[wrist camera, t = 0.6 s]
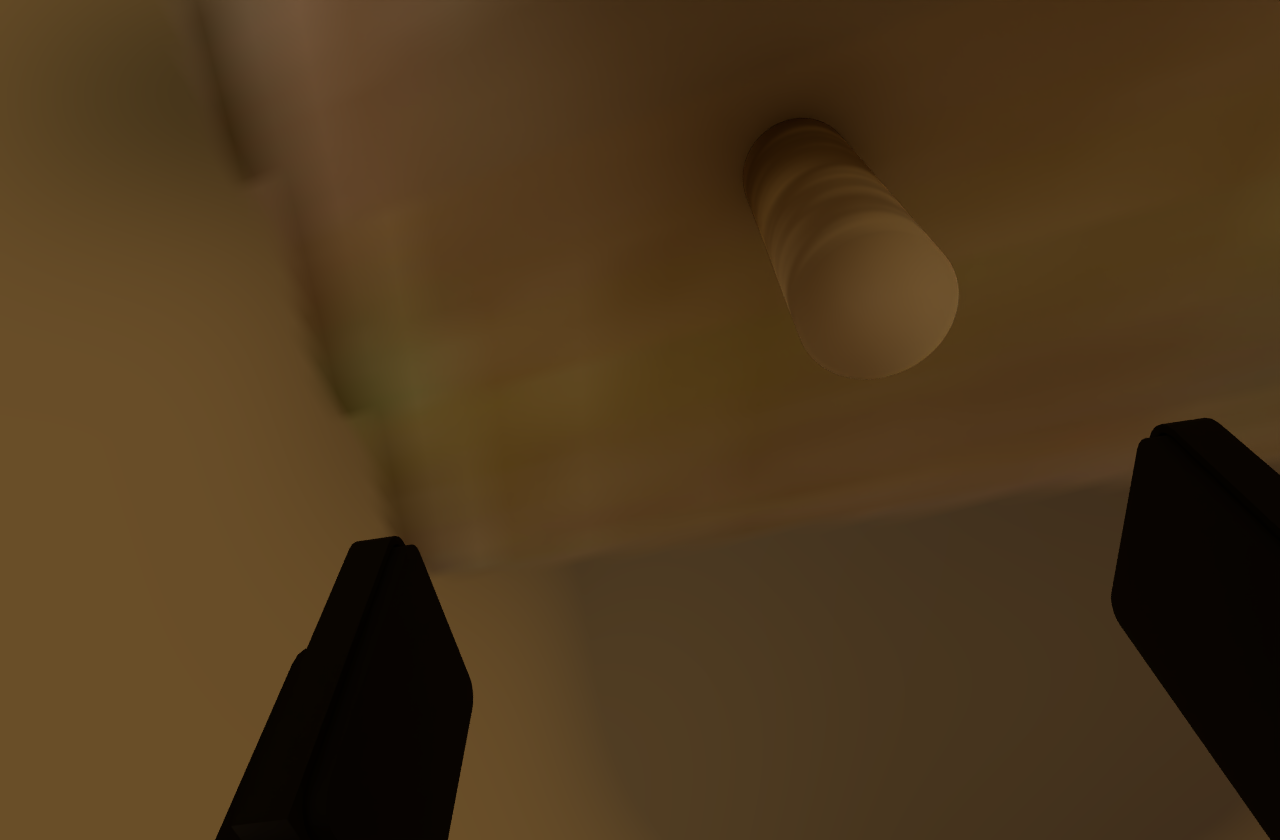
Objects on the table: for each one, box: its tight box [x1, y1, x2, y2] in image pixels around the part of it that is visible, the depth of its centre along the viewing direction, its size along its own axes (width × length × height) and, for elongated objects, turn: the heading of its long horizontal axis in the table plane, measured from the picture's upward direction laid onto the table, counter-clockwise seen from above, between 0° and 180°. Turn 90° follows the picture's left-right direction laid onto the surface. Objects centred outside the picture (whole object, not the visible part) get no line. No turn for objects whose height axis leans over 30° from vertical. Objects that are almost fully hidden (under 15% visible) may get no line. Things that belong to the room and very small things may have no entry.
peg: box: [743, 118, 959, 380], centre depth 26 cm, size 4×4×12 cm
